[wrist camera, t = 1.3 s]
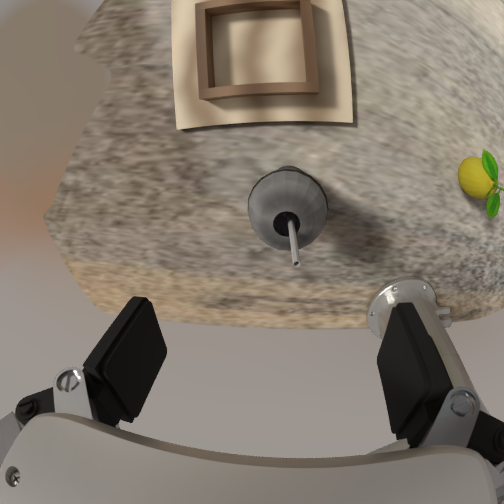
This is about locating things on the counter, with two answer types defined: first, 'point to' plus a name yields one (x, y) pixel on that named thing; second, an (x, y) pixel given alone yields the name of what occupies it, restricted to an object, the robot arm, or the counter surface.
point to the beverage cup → (288, 210)
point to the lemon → (481, 180)
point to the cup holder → (260, 61)
